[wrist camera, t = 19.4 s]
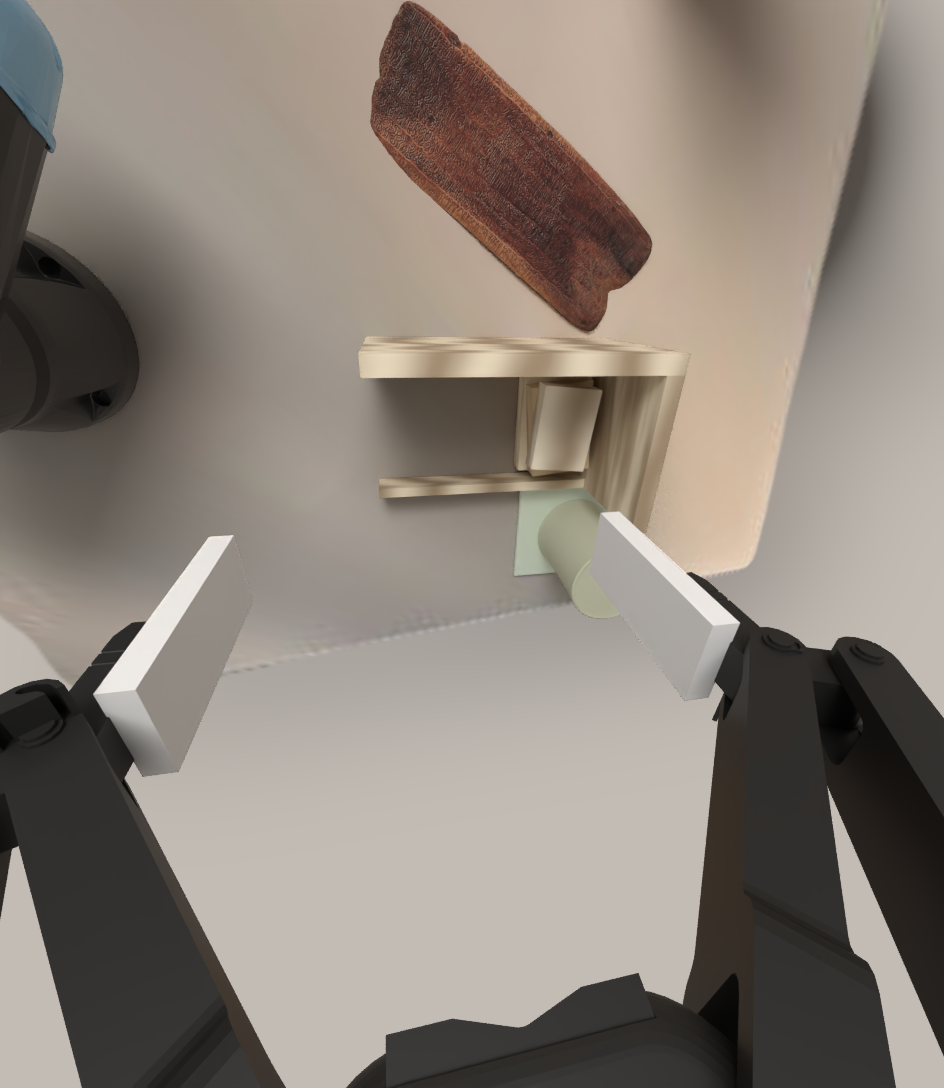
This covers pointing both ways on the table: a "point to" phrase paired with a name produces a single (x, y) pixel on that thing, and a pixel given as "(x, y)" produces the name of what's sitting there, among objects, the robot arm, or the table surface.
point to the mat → (529, 521)
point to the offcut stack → (555, 423)
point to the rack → (615, 366)
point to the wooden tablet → (502, 169)
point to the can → (575, 554)
